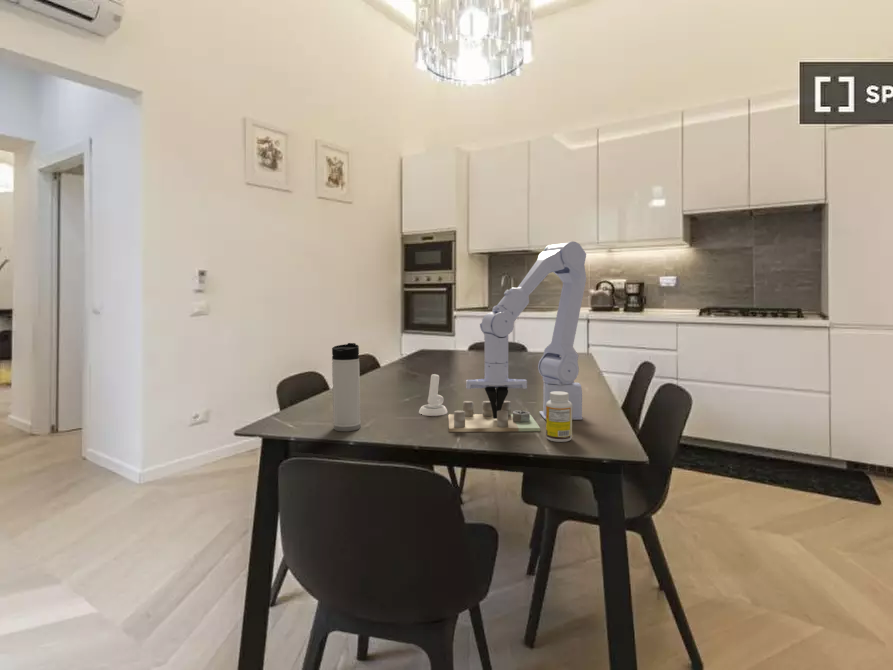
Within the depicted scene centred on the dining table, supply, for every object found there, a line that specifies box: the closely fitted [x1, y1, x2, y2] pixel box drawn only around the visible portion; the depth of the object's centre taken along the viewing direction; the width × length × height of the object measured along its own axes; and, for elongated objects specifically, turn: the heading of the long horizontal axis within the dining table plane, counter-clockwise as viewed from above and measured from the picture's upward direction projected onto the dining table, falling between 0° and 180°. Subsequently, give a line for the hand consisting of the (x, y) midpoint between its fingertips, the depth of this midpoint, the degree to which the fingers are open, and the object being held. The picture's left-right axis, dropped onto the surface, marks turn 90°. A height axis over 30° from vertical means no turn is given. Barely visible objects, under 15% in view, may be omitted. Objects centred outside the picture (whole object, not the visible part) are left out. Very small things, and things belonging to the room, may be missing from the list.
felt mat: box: [511, 413, 541, 432], centre depth 128 cm, size 5×14×1 cm, turn 0°
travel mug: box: [331, 342, 361, 433], centre depth 124 cm, size 6×7×20 cm
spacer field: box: [447, 400, 520, 433], centre depth 128 cm, size 16×14×4 cm
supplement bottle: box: [545, 391, 573, 443], centre depth 115 cm, size 6×6×10 cm
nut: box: [512, 410, 531, 423], centre depth 128 cm, size 5×4×2 cm
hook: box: [418, 373, 448, 417], centre depth 143 cm, size 8×12×7 cm
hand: (496, 417), depth 128 cm, fingers closed
